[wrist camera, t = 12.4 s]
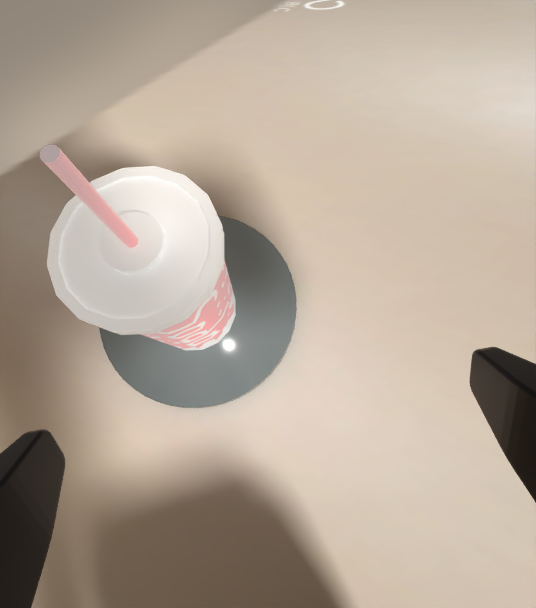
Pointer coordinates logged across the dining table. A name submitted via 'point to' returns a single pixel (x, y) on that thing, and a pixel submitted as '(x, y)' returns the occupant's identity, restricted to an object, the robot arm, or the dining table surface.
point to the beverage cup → (141, 255)
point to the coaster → (233, 346)
